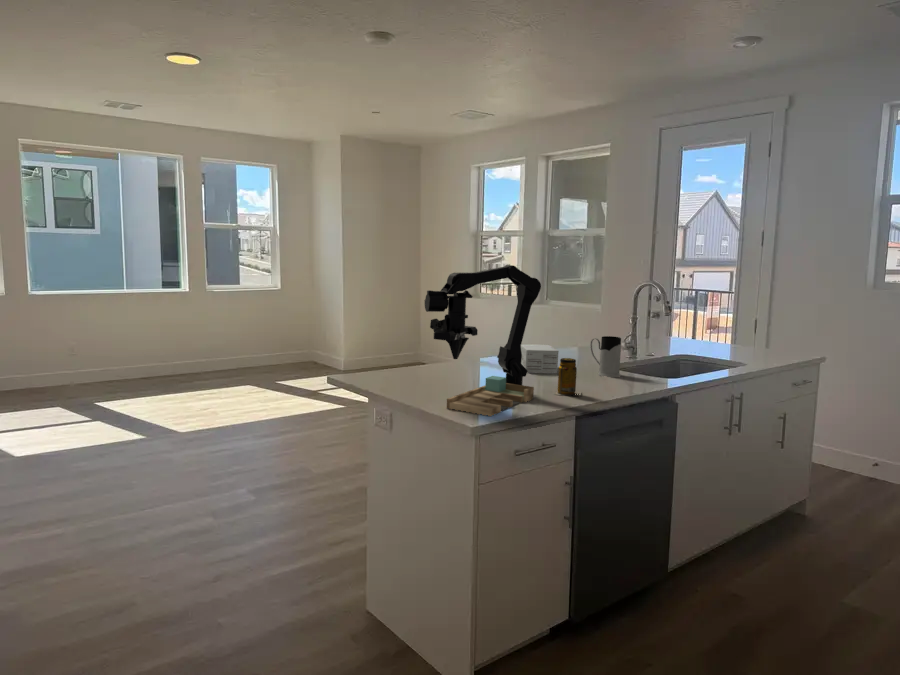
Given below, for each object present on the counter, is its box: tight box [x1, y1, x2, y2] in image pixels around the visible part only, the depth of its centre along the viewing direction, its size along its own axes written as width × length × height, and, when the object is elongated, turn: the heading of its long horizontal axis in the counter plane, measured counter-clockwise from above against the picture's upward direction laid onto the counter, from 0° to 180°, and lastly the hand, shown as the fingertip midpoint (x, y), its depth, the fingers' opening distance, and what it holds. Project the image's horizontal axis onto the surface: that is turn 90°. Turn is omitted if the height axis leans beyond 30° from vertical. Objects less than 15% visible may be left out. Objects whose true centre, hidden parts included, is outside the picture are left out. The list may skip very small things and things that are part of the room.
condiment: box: [554, 357, 581, 397], centre depth 217 cm, size 7×8×12 cm
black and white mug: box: [590, 335, 622, 378], centre depth 255 cm, size 9×14×15 cm, turn 39°
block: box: [484, 375, 506, 392], centre depth 211 cm, size 5×5×4 cm
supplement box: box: [521, 343, 559, 374], centre depth 261 cm, size 17×13×9 cm
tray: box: [446, 383, 535, 417], centre depth 200 cm, size 28×16×4 cm, turn 149°
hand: (455, 359), depth 209 cm, fingers closed
